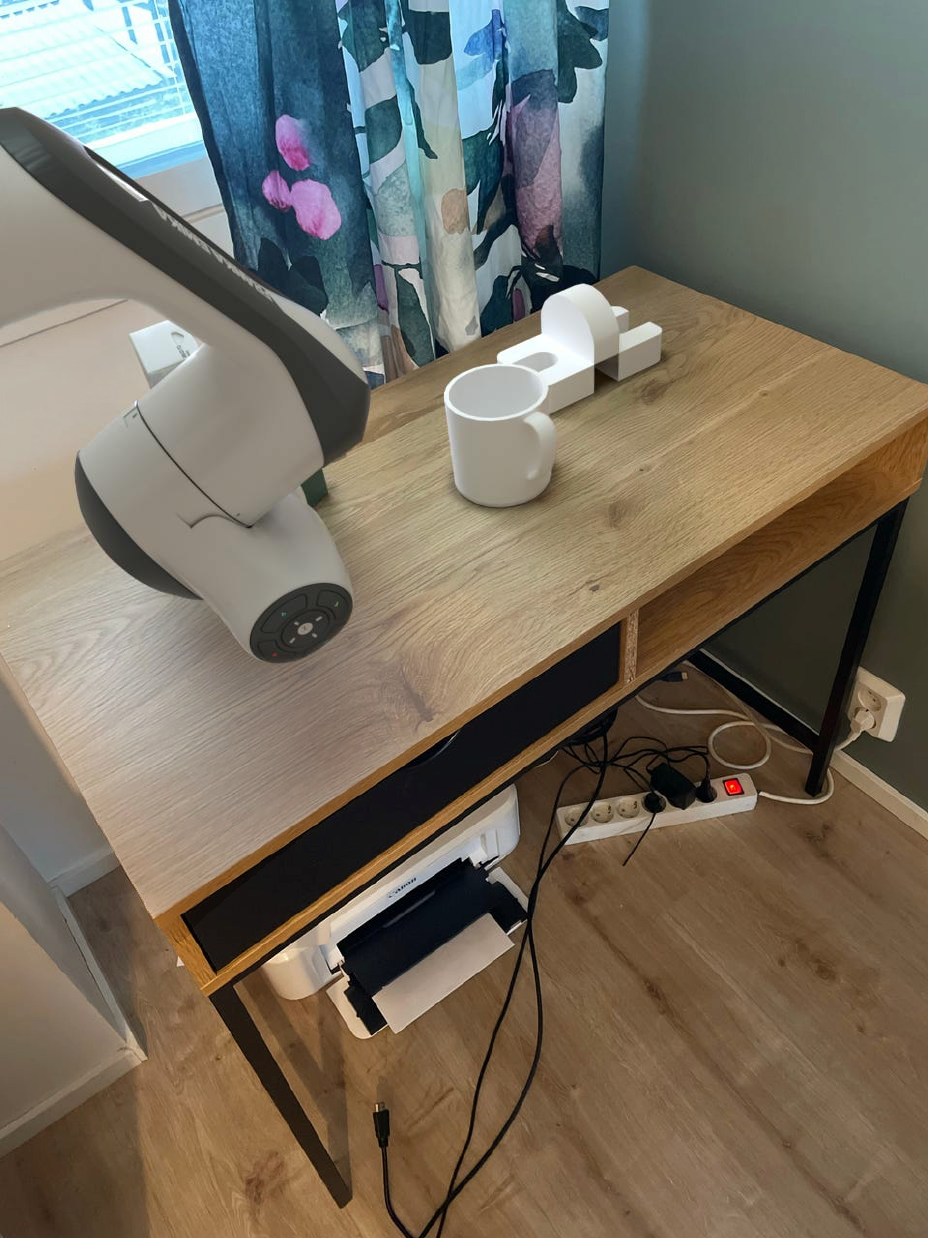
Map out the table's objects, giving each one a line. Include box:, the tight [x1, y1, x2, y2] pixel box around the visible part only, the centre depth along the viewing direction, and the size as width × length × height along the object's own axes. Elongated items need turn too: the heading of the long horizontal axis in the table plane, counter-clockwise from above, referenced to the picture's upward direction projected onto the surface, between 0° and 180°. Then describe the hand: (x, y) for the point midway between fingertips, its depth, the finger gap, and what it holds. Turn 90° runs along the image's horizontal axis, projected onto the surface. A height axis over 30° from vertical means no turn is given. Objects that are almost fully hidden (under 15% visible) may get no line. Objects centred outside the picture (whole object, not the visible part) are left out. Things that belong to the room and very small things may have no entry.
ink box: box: [128, 319, 200, 391], centre depth 80 cm, size 8×5×12 cm, turn 26°
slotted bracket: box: [496, 283, 663, 415], centre depth 102 cm, size 18×10×10 cm, turn 124°
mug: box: [443, 363, 558, 508], centre depth 88 cm, size 13×10×10 cm
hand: (189, 408), depth 75 cm, fingers open, 8 cm apart
